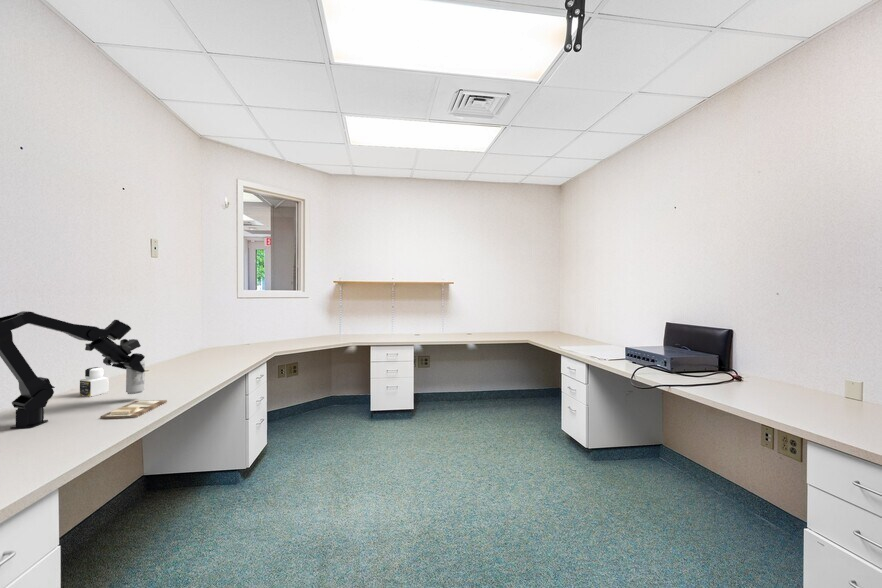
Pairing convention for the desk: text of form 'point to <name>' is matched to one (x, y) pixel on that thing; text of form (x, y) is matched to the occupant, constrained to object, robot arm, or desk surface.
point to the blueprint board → (134, 409)
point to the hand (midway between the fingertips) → (139, 370)
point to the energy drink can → (135, 380)
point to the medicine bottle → (94, 382)
